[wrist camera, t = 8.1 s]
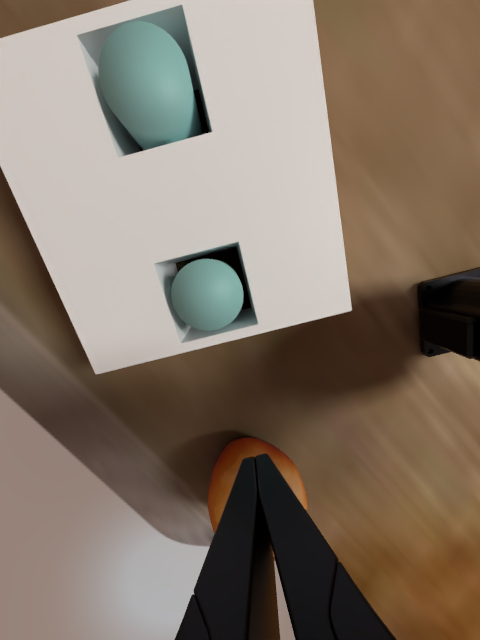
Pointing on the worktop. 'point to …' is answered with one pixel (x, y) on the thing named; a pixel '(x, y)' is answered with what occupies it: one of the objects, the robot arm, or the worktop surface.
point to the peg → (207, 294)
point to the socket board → (177, 175)
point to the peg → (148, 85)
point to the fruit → (230, 465)
